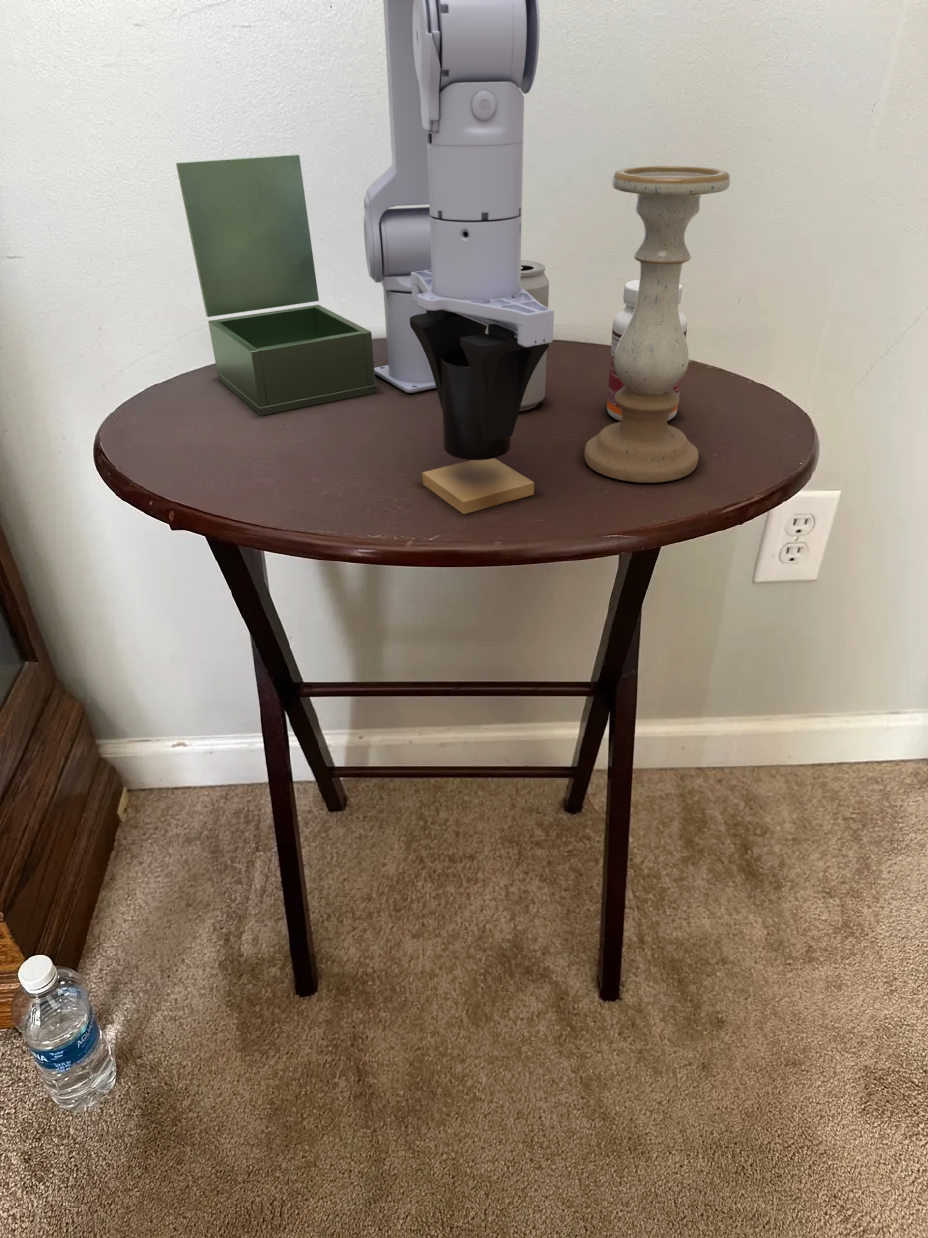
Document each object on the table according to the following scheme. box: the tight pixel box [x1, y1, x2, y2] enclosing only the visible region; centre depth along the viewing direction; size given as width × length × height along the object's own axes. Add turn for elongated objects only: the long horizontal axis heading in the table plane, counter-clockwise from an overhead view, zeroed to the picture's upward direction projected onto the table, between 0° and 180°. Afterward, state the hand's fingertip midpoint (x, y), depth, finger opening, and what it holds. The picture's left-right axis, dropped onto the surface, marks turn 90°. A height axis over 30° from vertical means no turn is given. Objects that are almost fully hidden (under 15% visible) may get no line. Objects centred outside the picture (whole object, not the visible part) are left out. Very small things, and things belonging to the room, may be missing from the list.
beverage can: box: [485, 259, 550, 412], centre depth 75 cm, size 6×6×12 cm
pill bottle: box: [606, 279, 688, 422], centre depth 72 cm, size 6×6×11 cm
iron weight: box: [441, 348, 512, 461], centre depth 59 cm, size 5×5×6 cm
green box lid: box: [175, 154, 320, 318], centre depth 81 cm, size 13×12×1 cm
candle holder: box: [583, 165, 731, 484], centre depth 61 cm, size 9×9×20 cm
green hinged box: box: [207, 304, 377, 417], centre depth 82 cm, size 13×12×6 cm
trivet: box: [421, 458, 535, 515], centre depth 62 cm, size 6×6×1 cm
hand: (477, 425), depth 60 cm, fingers closed on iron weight, 5 cm apart
